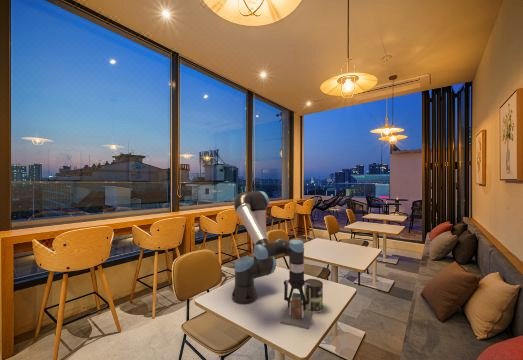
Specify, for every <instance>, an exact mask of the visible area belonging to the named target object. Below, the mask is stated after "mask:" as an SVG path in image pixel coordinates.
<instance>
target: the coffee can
mask: <svg viewBox="0 0 523 360" xmlns="http://www.w3.org/2000/svg"><path fill="white" fill-rule="evenodd" d="M304 281H305V282H306V283H310V286H309V299H310V302H309V304H306V311H312V314H318V313H321V312H323V309H324V307H323V306H324V305H323V302H324V301H323V300H324V299H323V298H324V297H323V296H324V293H323V291H324V290H323V289H324V288H323V287H324V286H323V285H324V283H323V281H321V280H319V279H315V278H307V279H304ZM303 287H304V289H303V292H304V296H305V299H306V287H305V285H304V286H303Z"/></svg>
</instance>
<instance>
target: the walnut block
mask: <svg viewBox="0 0 523 360" xmlns="http://www.w3.org/2000/svg"><path fill="white" fill-rule="evenodd" d="M291 300H292V318H294V319H299V320H301V316H302V298H301V295H300V292H293V293H292V297H291Z"/></svg>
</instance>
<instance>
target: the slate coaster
mask: <svg viewBox="0 0 523 360" xmlns="http://www.w3.org/2000/svg"><path fill="white" fill-rule="evenodd" d="M312 315H313V312H312V311H307V310H305V311H304V317H303V318H302V316H301V320H299V319H294V318H292V314H291V315H290V308H288V306H286V307H285V310H284V311H283V314H282V316H281V319H280V322H279V323H280V324H283V325H288V326H291V327H297V328H303V329H306V330H309V328H310V323H311V320H312Z"/></svg>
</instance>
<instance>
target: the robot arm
mask: <svg viewBox="0 0 523 360" xmlns="http://www.w3.org/2000/svg"><path fill="white" fill-rule="evenodd" d="M269 204H270V199H269V196H268V194H267V193H266V192H265V191H260V190H255V191H242V192H240V193H239V194H237V195H236V196H235V199H234V204H233V206H234V210H235V213H236V214H237V215H238V216H239V217H240V218H241V219H240V220H241V221H242V223H243V225H244V228H245V229H246V231H247V232H248V235H249V237H250V238H251V241H252V243H253V245H254V247H253V254H252V255H253V256H242V257H239V258H238V259H236V261H235V263H234V287H233V290H232V293H231V299H232V301H233V302H234V303H236V304H240V305H247V304H251V303H253V302H255V301H257V297H258V293H257V292H258V291H257V289H256V286H255V279H259V278H262V277H265V276H269V275H272V274H273V273H275V270H276V269H277V260H276V259H275V257H279V256H283V255H284V256H286V257H288V258H289V259H288V260H289V261H288V263H289V266H288V267H289V271H288V272H289V273H288V274H289V277H288V280H287V279H284V281H283V285H284V289H283V290H284V291H283V294H284V295H283V300H284V301H285V302H287V307H288V308H290V315H291V314H292V295H293V293H294V290H298V293H299V294H300V295H301V298H302V318H303V317H304V311H305V310H306V304H309V302H310V299H309V286H310V283H306V282H305V246H304V245H305V243H304V242H303V241H302V240H300V239H296V238H295V239H291V240H286V239H284V238H278V239H276V240H275V241H271V242H270V241H269V240H268V234H267V225H266V216H265V215H266V214H265V213H266V212H267V208H268V207H269V206H270V205H269ZM289 285H290V290H289V291H288V289H289V287H288V286H289ZM304 285H305V287H306V299H305V296H304V289H303V287H304ZM288 292H289V294H288ZM306 311H307V310H306Z"/></svg>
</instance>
